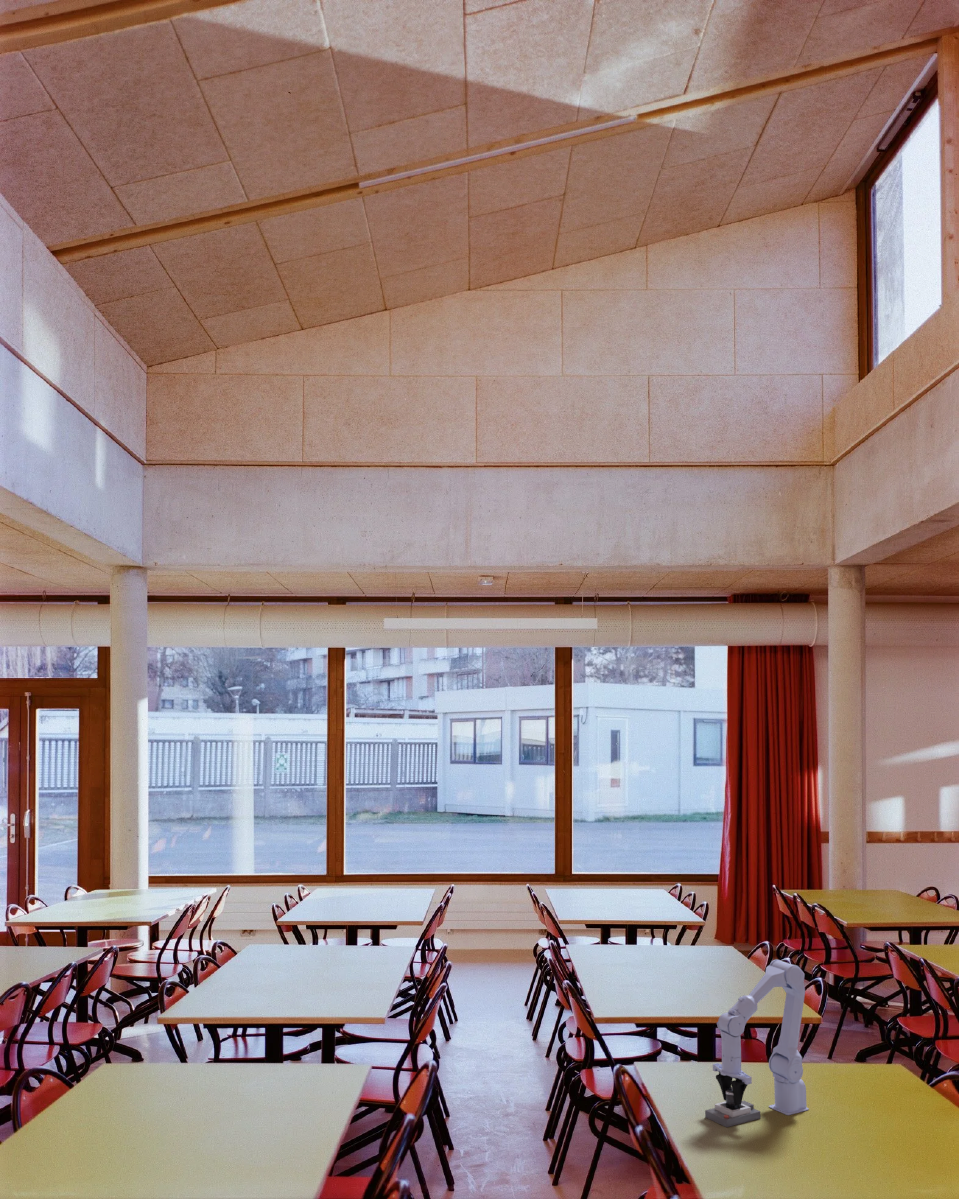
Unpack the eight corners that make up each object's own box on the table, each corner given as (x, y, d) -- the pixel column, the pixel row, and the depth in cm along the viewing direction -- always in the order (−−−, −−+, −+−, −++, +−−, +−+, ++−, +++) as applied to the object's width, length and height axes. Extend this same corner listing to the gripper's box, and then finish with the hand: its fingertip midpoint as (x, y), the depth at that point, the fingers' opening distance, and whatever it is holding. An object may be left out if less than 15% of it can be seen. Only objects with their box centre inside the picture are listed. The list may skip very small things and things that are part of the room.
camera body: (738, 1108, 315) (738, 1096, 315) (760, 1118, 307) (760, 1106, 307) (705, 1117, 308) (705, 1105, 308) (726, 1127, 300) (726, 1114, 300)
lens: (734, 1107, 310) (734, 1086, 311) (742, 1111, 306) (742, 1090, 307) (723, 1108, 309) (722, 1088, 310) (731, 1113, 305) (730, 1092, 306)
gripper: (705, 1050, 314) (706, 1097, 312) (739, 1064, 301) (740, 1112, 300) (721, 1047, 317) (722, 1092, 316) (756, 1060, 305) (757, 1108, 303)
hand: (732, 1102), depth 308 cm, fingers closed on lens, 4 cm apart
